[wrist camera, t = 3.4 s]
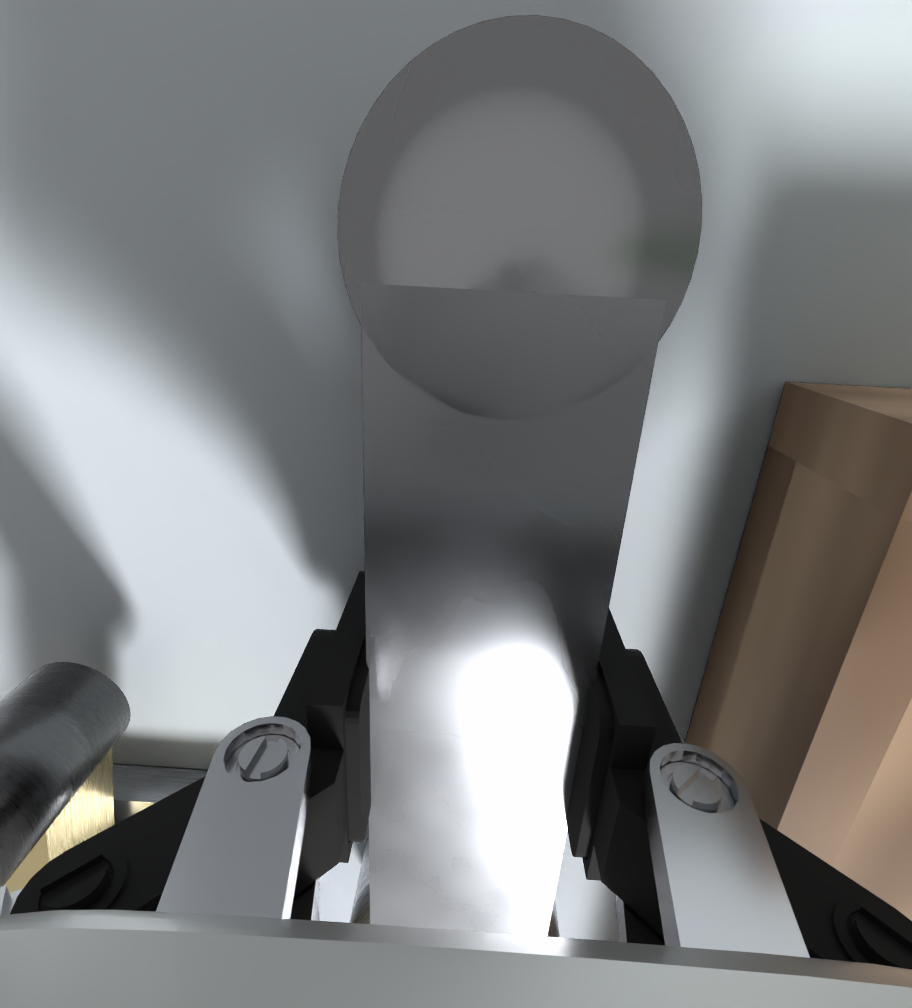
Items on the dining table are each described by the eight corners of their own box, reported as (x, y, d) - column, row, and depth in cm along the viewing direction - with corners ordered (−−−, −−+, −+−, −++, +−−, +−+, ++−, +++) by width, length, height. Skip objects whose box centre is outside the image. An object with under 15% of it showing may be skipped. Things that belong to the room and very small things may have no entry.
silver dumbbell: (347, 106, 9) (269, 2, 5) (680, 123, 8) (806, 28, 5) (364, 916, 16) (337, 1074, 13) (539, 928, 16) (554, 1091, 13)
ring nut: (220, 1055, 17) (138, 1301, 13) (-31, 1012, 16) (-199, 1254, 12) (260, 700, 11) (139, 933, 7) (-114, 625, 11) (-462, 828, 7)
